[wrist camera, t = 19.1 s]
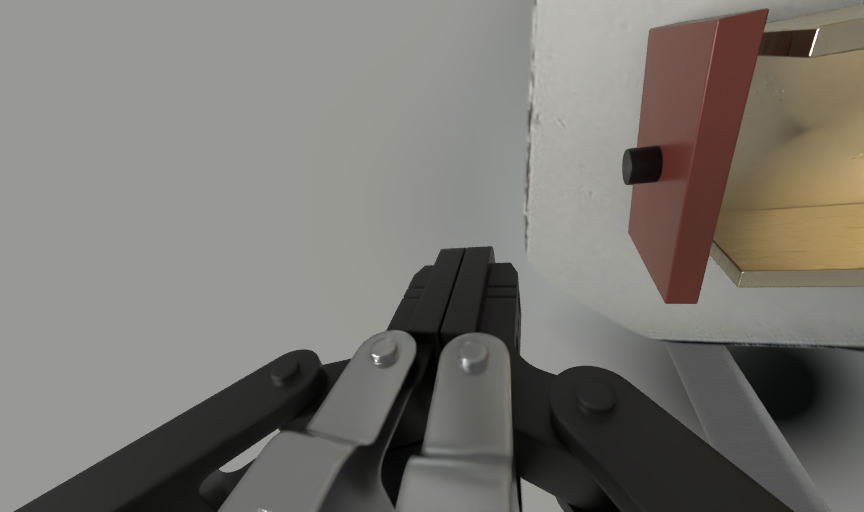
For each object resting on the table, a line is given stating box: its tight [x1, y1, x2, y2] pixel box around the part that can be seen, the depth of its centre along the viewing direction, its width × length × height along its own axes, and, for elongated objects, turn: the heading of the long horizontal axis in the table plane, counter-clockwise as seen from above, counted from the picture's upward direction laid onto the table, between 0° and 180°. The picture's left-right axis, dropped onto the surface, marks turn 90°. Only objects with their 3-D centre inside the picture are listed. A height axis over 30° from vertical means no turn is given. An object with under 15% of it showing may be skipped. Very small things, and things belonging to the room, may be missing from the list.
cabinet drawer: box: [622, 4, 864, 304], centre depth 13 cm, size 12×10×7 cm
